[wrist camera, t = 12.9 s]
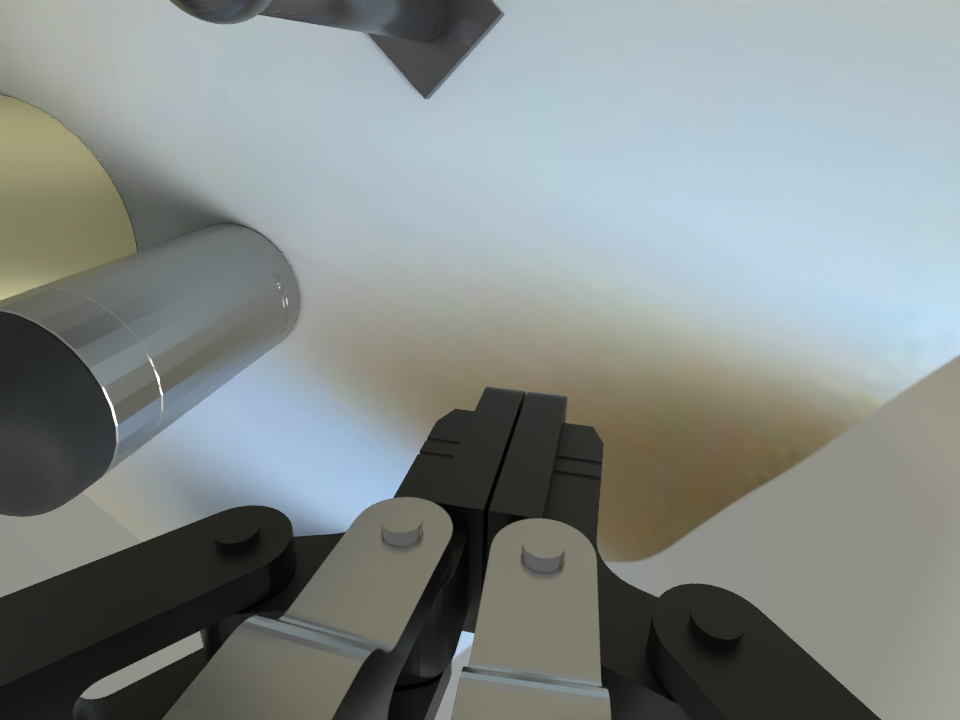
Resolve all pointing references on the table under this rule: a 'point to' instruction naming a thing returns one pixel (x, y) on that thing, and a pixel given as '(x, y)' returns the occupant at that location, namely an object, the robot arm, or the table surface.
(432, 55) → the gate post
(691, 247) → the table surface
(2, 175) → the cone light
